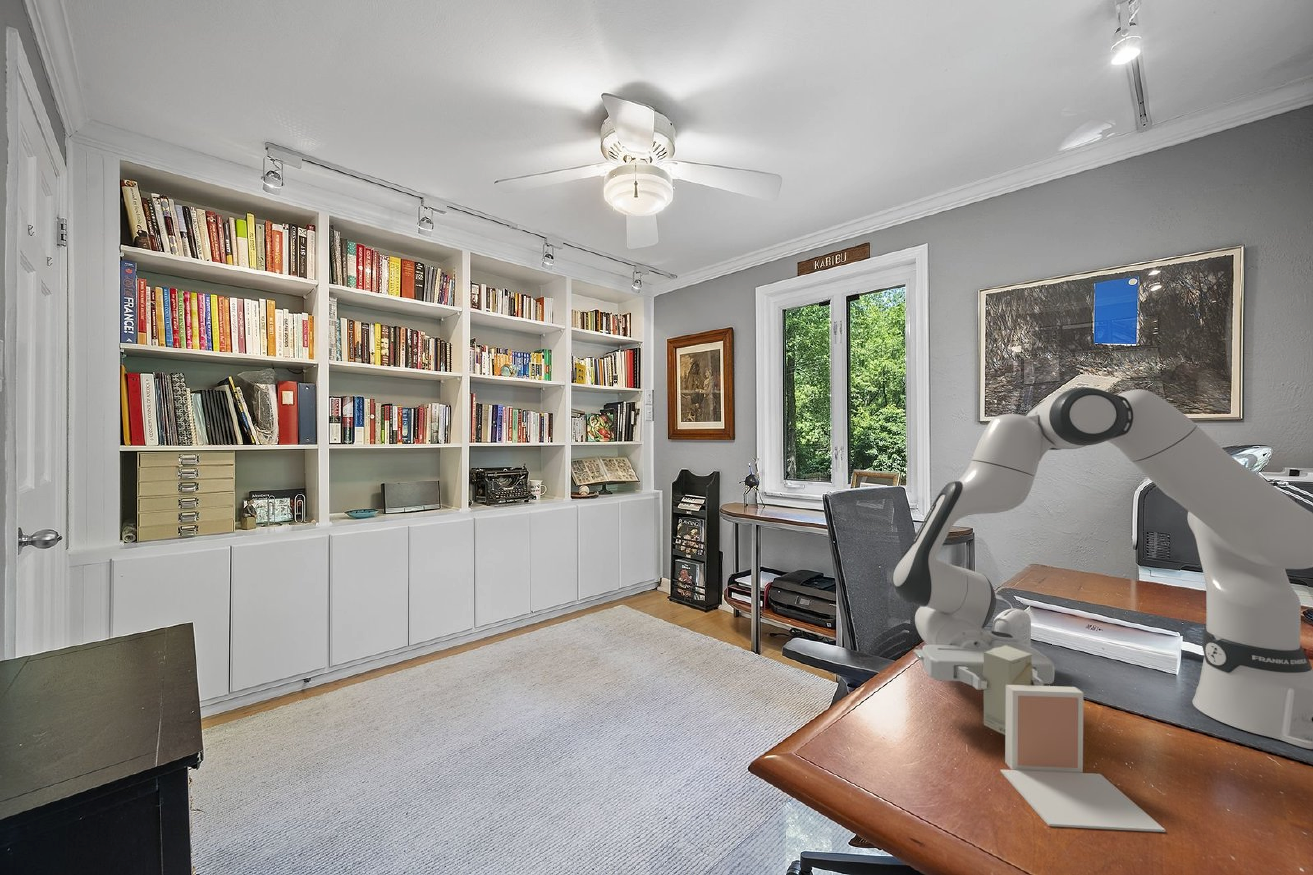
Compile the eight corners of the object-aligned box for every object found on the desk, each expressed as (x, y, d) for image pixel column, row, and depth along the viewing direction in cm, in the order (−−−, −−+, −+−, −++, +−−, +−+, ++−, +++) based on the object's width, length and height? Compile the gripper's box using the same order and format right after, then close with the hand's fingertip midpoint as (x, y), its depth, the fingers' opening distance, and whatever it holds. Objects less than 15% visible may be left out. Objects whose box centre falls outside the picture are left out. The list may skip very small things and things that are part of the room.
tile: (1074, 765, 81) (1074, 686, 81) (1083, 773, 79) (1084, 693, 79) (1005, 762, 82) (1005, 684, 82) (1012, 770, 80) (1013, 690, 80)
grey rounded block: (1011, 658, 119) (1012, 602, 119) (1033, 665, 115) (1034, 608, 115) (988, 669, 113) (989, 611, 113) (1011, 677, 110) (1011, 617, 110)
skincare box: (1010, 739, 83) (1010, 661, 83) (981, 725, 87) (981, 651, 87) (1033, 728, 86) (1033, 653, 86) (1004, 715, 90) (1004, 643, 90)
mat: (1100, 775, 79) (1100, 773, 79) (1165, 832, 68) (1165, 829, 68) (1000, 771, 80) (1000, 769, 80) (1048, 826, 69) (1048, 823, 69)
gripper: (909, 632, 100) (943, 664, 86) (1024, 634, 99) (1077, 668, 85) (909, 665, 100) (943, 703, 87) (1024, 668, 99) (1076, 707, 85)
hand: (1010, 686), depth 86 cm, fingers closed on skincare box, 7 cm apart
